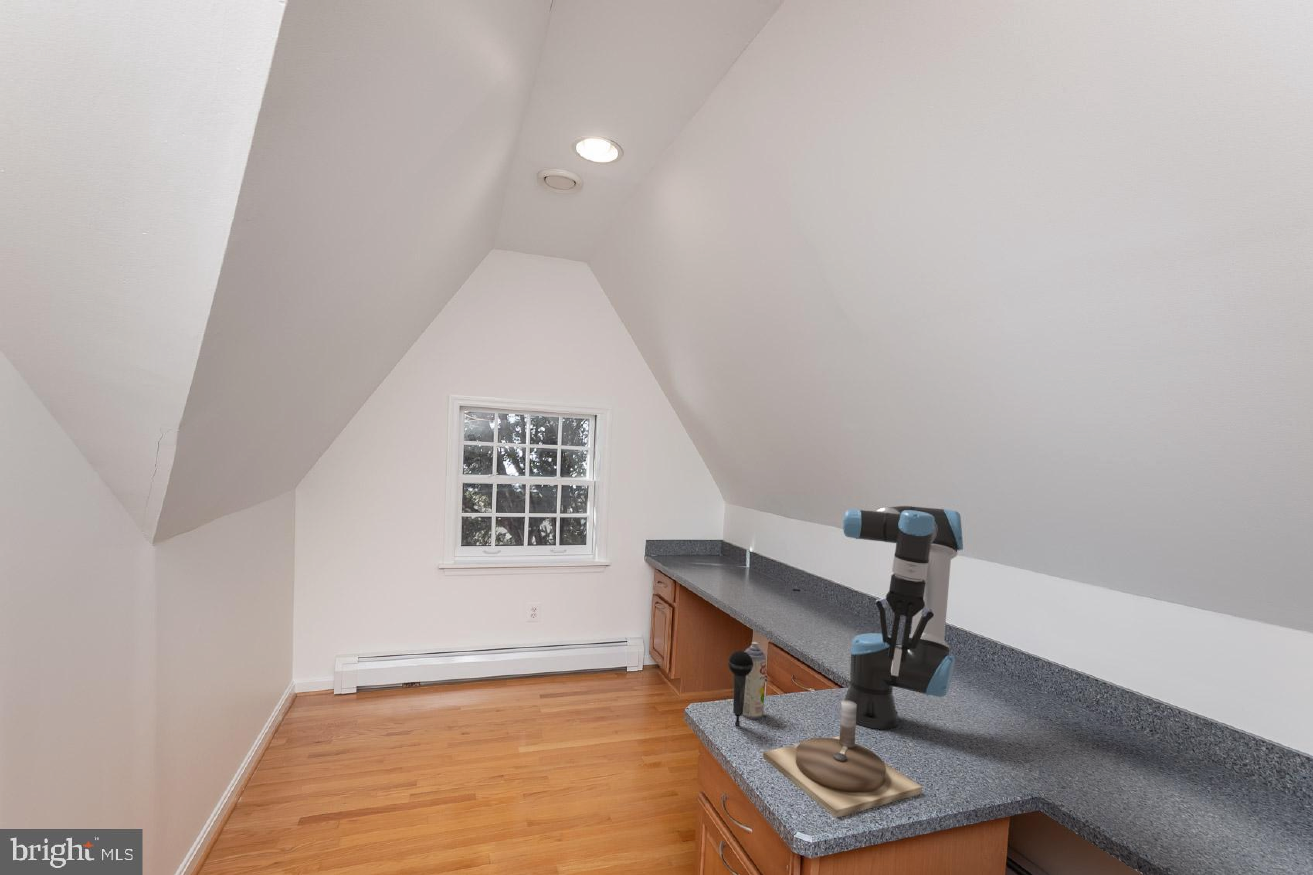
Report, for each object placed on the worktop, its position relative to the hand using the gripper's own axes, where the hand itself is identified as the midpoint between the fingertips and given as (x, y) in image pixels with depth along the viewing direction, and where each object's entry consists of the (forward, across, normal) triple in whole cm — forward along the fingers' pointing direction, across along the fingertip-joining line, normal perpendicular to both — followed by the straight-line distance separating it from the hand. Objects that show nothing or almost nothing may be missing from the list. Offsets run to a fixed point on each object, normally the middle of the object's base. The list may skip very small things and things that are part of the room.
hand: (894, 673), depth 141 cm
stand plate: (+24, -9, -8) cm, 27 cm away
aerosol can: (+28, -34, +15) cm, 46 cm away
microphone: (+27, -36, +6) cm, 45 cm away
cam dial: (+22, -9, -8) cm, 25 cm away
